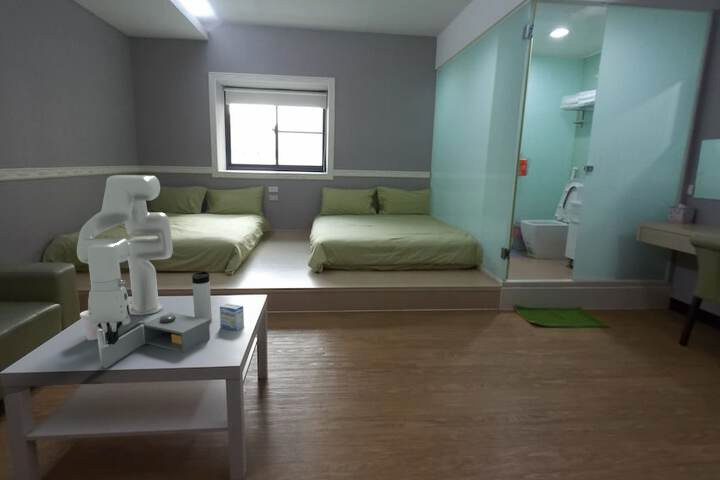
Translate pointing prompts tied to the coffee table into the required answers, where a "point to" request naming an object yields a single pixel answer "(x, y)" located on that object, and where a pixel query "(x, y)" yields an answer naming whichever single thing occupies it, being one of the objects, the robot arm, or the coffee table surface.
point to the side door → (119, 346)
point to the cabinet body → (176, 331)
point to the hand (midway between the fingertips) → (113, 342)
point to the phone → (131, 328)
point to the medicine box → (231, 317)
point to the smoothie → (89, 326)
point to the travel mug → (202, 295)
